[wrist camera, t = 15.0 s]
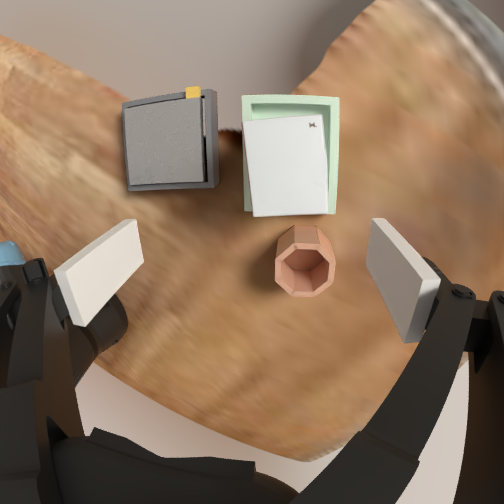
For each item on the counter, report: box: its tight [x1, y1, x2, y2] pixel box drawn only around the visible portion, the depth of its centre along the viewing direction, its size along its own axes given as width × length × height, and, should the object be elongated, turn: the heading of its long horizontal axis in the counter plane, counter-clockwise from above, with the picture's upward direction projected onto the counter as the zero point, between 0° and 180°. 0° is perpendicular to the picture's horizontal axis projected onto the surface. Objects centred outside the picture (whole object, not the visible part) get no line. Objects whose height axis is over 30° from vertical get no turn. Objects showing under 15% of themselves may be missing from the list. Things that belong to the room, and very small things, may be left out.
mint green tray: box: [242, 95, 339, 214], centre depth 32 cm, size 11×14×2 cm
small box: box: [242, 114, 328, 217], centre depth 27 cm, size 8×6×13 cm
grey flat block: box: [122, 86, 220, 191], centre depth 33 cm, size 12×12×4 cm
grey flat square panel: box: [124, 97, 206, 185], centre depth 31 cm, size 10×10×1 cm
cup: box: [275, 225, 336, 297], centre depth 36 cm, size 7×7×6 cm
